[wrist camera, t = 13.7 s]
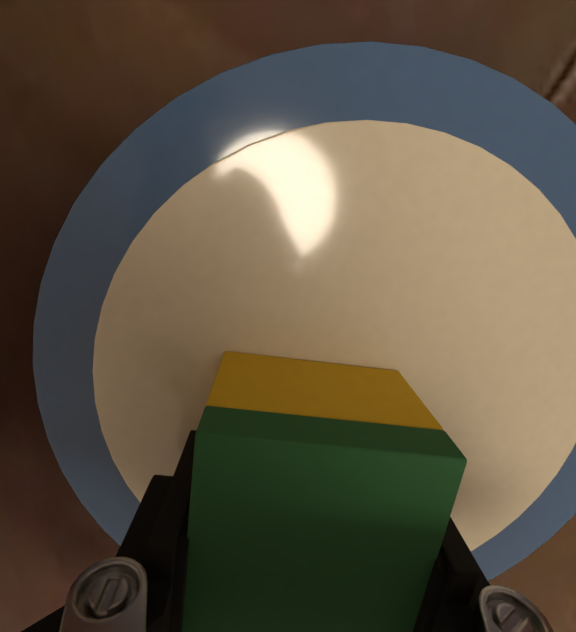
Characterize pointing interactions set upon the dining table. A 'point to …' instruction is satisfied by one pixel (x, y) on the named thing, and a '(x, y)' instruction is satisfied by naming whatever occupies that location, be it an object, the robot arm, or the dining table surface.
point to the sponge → (314, 499)
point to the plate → (327, 273)
